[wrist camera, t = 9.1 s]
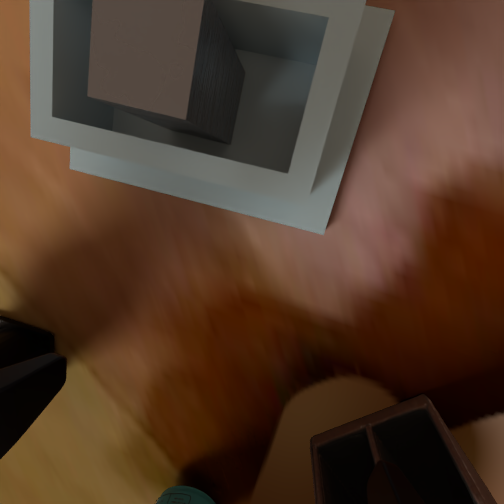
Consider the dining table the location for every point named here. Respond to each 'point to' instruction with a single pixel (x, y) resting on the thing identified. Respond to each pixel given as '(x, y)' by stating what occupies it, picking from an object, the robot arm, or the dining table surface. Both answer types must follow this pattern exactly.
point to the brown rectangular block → (166, 65)
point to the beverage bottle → (184, 496)
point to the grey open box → (249, 112)
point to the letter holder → (395, 457)
